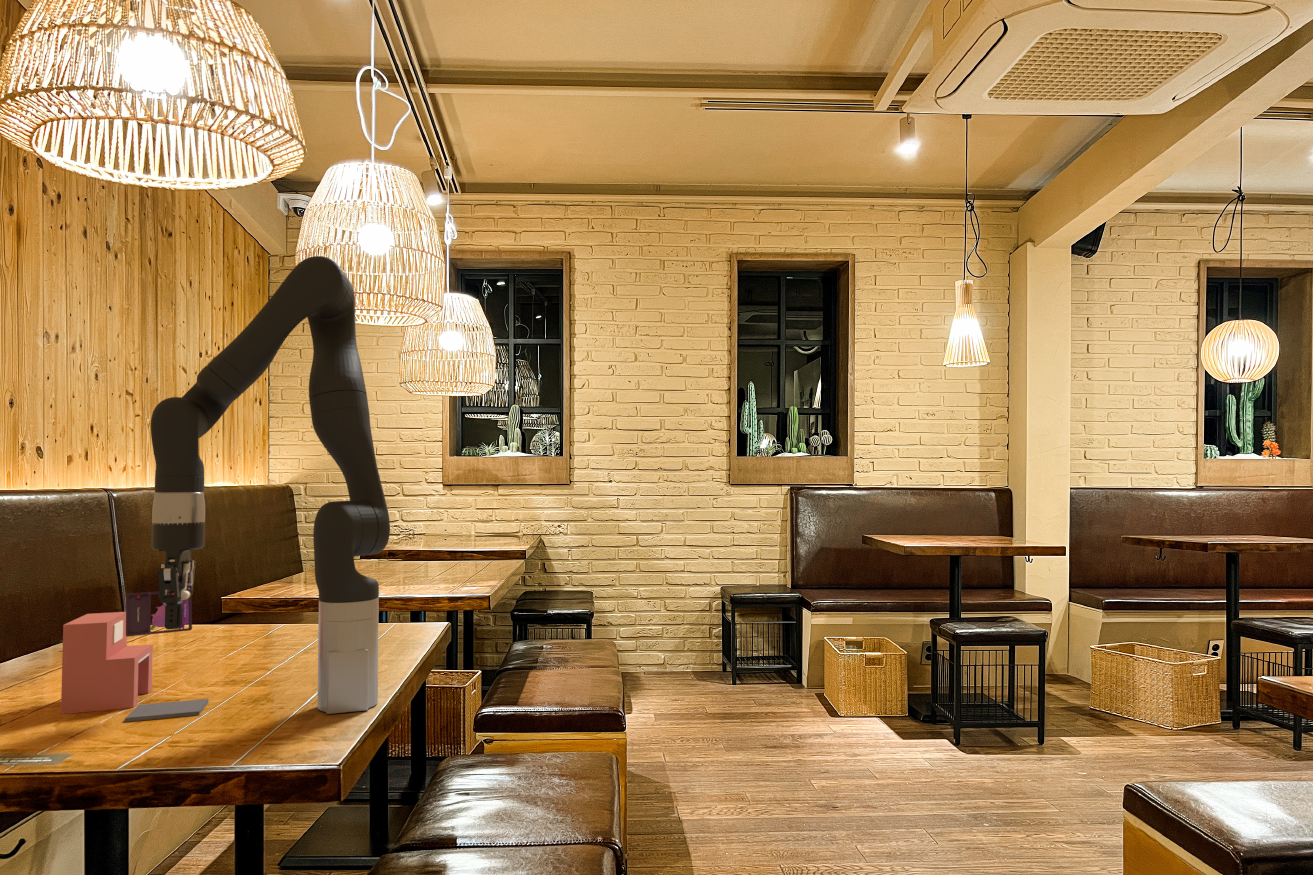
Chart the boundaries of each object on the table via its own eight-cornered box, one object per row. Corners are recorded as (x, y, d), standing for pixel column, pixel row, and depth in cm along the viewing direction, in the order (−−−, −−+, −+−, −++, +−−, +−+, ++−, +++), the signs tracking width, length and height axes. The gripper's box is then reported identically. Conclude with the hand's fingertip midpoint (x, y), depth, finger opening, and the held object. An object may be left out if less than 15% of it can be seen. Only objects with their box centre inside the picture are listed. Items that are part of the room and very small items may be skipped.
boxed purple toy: (126, 592, 129) (191, 587, 134) (125, 599, 133) (188, 595, 138) (125, 635, 127) (192, 628, 132) (124, 641, 131) (189, 635, 136)
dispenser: (133, 707, 133) (135, 620, 134) (60, 713, 130) (63, 624, 131) (151, 690, 145) (153, 610, 145) (85, 695, 141) (87, 613, 142)
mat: (198, 714, 129) (199, 711, 129) (125, 721, 125) (125, 717, 125) (208, 702, 136) (208, 698, 136) (138, 708, 133) (139, 704, 133)
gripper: (194, 521, 128) (191, 632, 127) (213, 518, 142) (211, 618, 141) (139, 522, 126) (136, 635, 125) (164, 518, 139) (162, 620, 139)
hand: (176, 625), depth 133 cm, fingers closed on boxed purple toy, 3 cm apart
